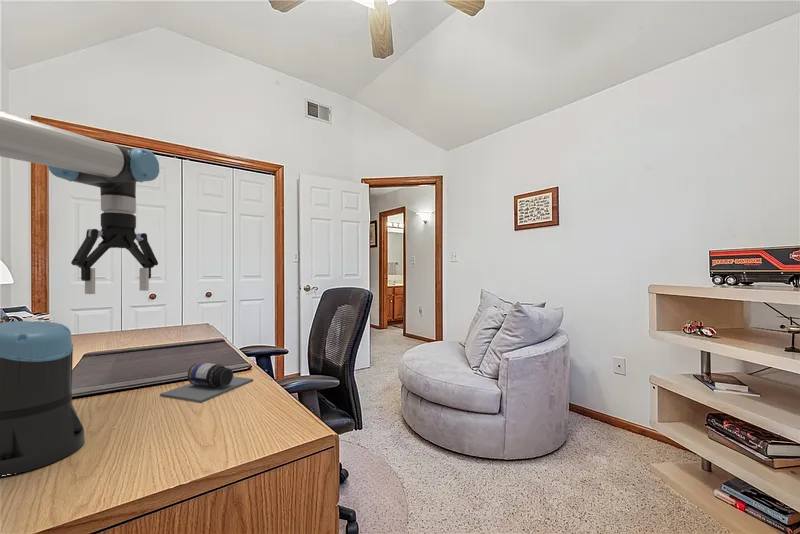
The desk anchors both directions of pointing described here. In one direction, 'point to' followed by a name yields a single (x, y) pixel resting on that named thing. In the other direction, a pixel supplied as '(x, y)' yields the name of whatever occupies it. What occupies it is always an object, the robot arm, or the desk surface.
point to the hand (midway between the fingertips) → (118, 292)
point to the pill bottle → (209, 375)
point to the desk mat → (203, 390)
